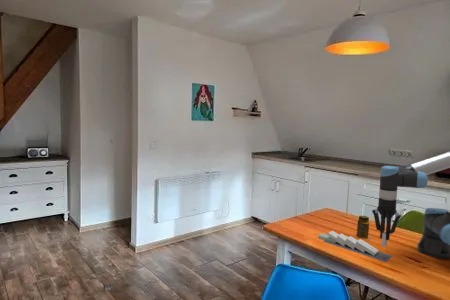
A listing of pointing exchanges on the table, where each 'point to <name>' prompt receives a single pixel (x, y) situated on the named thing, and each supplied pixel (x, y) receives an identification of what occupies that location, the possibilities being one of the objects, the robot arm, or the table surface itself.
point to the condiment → (363, 227)
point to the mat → (378, 256)
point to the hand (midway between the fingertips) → (384, 245)
